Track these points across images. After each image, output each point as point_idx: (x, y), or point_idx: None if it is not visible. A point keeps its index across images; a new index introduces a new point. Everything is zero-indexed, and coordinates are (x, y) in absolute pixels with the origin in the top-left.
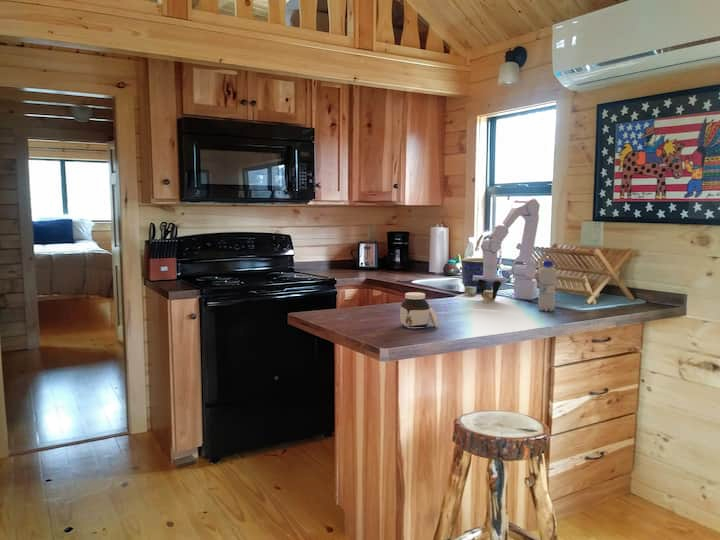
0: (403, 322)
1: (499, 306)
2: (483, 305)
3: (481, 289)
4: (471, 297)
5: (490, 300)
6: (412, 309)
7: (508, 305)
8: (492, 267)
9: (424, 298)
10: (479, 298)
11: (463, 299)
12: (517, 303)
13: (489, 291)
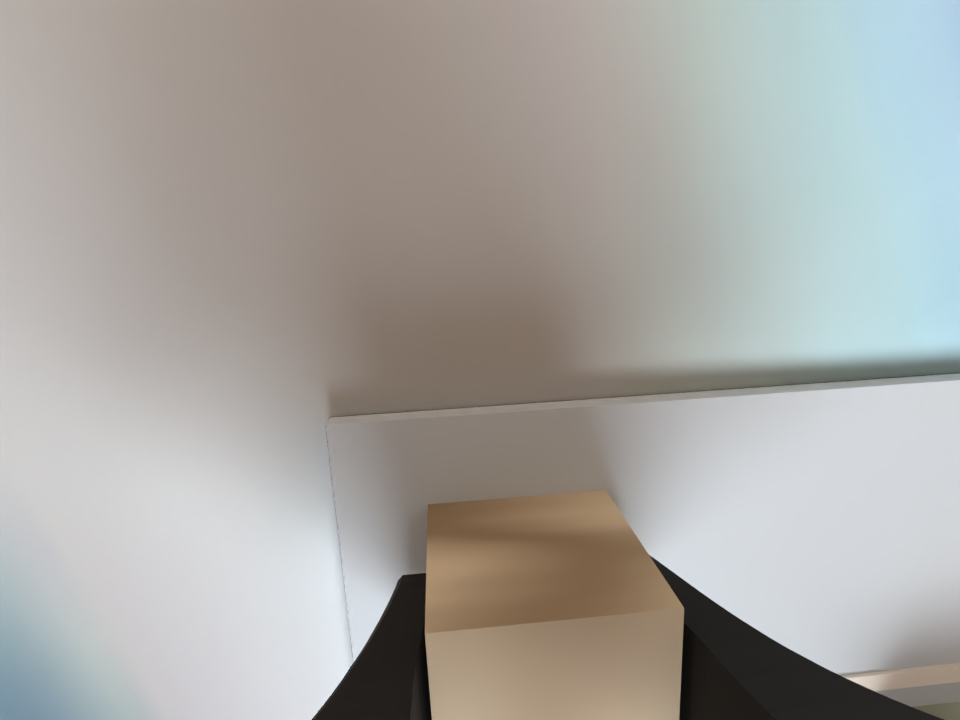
0: None
1: (127, 197)
2: (449, 112)
3: (766, 653)
4: (872, 645)
5: (459, 508)
6: None
7: (43, 411)
8: None
9: None
10: None
11: (955, 386)
12: (24, 684)
13: (535, 689)
